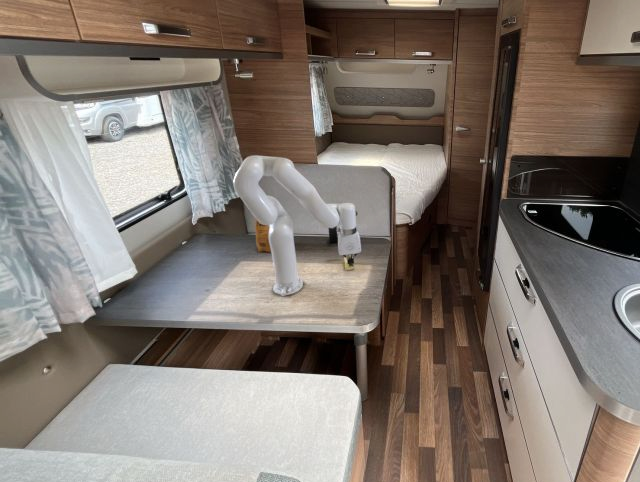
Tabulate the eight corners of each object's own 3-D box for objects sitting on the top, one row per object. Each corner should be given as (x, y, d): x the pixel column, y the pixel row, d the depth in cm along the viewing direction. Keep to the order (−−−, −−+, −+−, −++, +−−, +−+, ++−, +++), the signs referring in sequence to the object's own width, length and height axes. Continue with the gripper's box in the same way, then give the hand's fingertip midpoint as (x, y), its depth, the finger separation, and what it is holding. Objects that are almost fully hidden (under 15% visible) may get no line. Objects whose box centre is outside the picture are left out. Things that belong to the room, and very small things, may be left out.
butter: (353, 269, 166) (352, 262, 164) (345, 270, 165) (345, 263, 163) (351, 262, 172) (351, 255, 171) (344, 263, 171) (344, 256, 170)
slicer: (337, 239, 194) (336, 219, 190) (338, 244, 189) (337, 224, 185) (328, 240, 193) (327, 220, 189) (329, 245, 188) (327, 225, 183)
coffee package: (262, 243, 189) (256, 207, 181) (284, 243, 189) (279, 207, 181) (254, 252, 179) (248, 215, 171) (278, 252, 180) (272, 215, 172)
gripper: (331, 235, 146) (335, 271, 153) (365, 231, 150) (367, 266, 156) (330, 228, 153) (334, 263, 159) (363, 224, 157) (365, 258, 163)
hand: (350, 264), depth 158 cm, fingers closed
